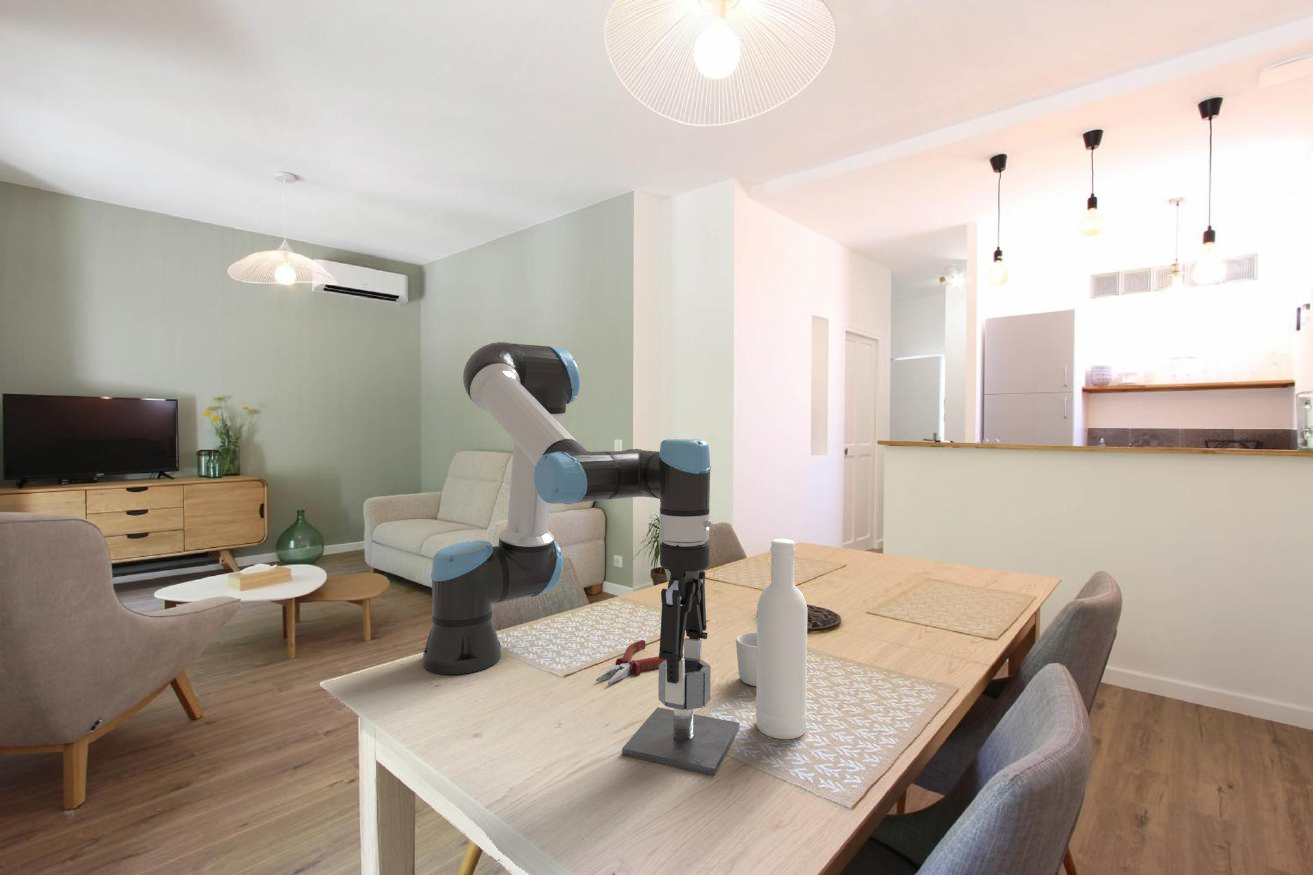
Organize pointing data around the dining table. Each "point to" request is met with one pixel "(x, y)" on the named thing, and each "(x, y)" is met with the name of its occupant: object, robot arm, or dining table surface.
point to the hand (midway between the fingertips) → (684, 690)
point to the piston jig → (683, 740)
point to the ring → (689, 684)
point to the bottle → (781, 649)
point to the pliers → (631, 664)
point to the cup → (747, 657)
